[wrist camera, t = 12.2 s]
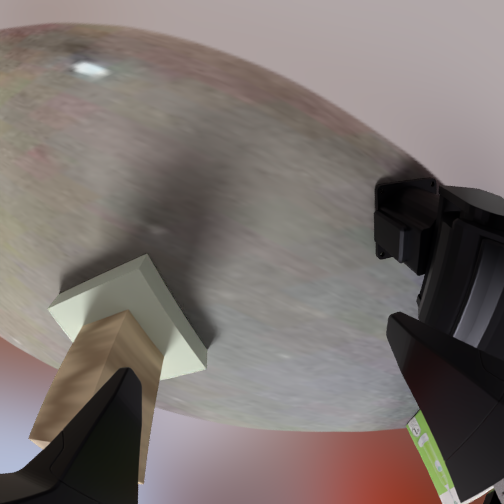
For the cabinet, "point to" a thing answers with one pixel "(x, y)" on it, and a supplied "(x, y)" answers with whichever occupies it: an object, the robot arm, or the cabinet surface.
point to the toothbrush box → (435, 460)
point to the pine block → (101, 376)
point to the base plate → (135, 312)
